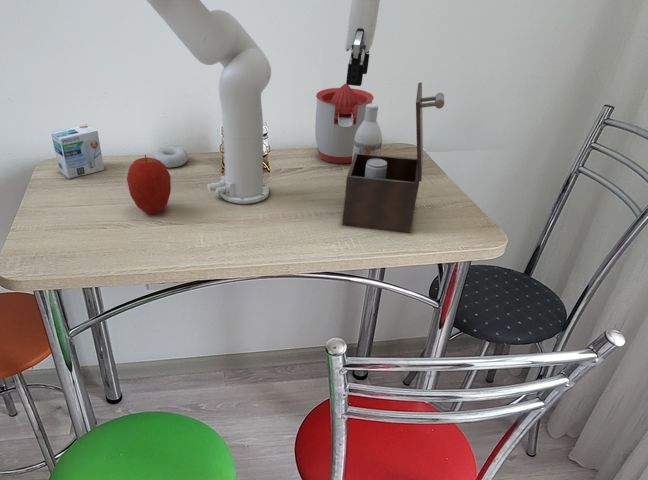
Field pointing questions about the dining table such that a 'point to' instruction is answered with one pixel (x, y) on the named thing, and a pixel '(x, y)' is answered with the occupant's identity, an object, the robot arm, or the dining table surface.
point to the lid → (419, 123)
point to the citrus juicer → (339, 121)
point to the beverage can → (376, 168)
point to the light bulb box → (78, 151)
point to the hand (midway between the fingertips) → (356, 79)
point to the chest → (381, 194)
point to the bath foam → (368, 133)
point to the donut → (171, 156)
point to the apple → (149, 184)
